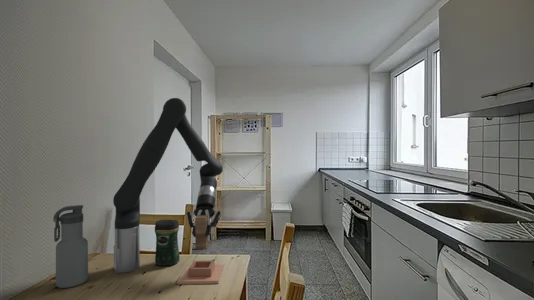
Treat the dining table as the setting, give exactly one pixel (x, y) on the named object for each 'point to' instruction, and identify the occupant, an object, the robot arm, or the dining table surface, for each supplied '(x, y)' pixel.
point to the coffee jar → (166, 242)
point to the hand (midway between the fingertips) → (200, 235)
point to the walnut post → (201, 231)
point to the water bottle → (70, 248)
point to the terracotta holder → (201, 273)
